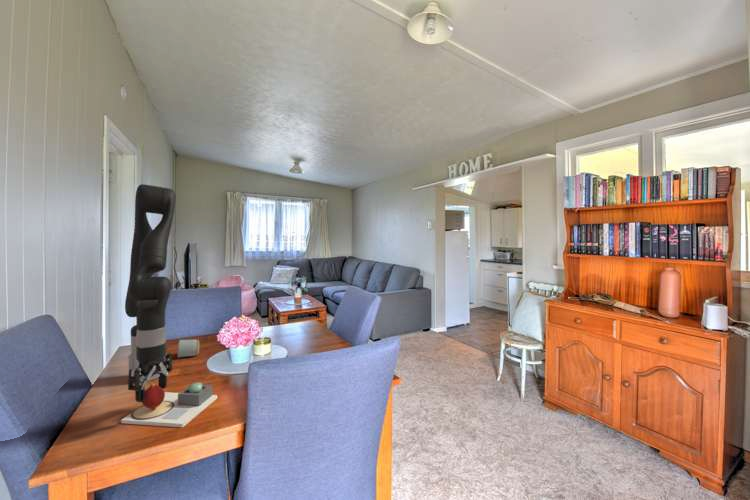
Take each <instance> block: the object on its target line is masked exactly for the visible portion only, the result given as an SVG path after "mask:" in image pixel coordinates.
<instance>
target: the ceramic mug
mask: <svg viewBox="0 0 750 500" xmlns="http://www.w3.org/2000/svg"><path fill="white" fill-rule="evenodd" d="M200 347H201V346H200V340H199V339H179V340H178V344H177V358H187V357H195V356H198V355H199V353H200Z"/></svg>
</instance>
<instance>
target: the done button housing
mask: <svg viewBox="0 0 750 500" xmlns="http://www.w3.org/2000/svg"><path fill="white" fill-rule="evenodd" d="M178 393H179V394H178V405H185V406H200V405H201V404H202V403H204V402H205V401H206V400H207V399H209V398H210V397H211V396H212V395H213V385H210V384H202V391H200V392H199V393H189V386H188V387H187V388H184V389H183V390H182V391H180V392H178Z"/></svg>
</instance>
